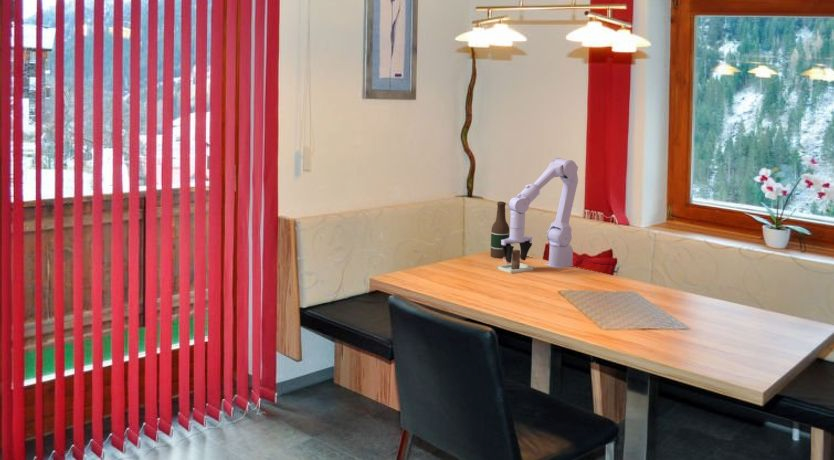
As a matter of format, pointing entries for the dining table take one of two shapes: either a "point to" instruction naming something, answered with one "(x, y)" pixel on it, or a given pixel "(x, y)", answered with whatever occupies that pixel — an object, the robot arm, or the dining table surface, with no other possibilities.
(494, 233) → the beer bottle
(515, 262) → the peg
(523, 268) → the tray
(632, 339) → the dining table surface
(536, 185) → the robot arm
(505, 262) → the holder
